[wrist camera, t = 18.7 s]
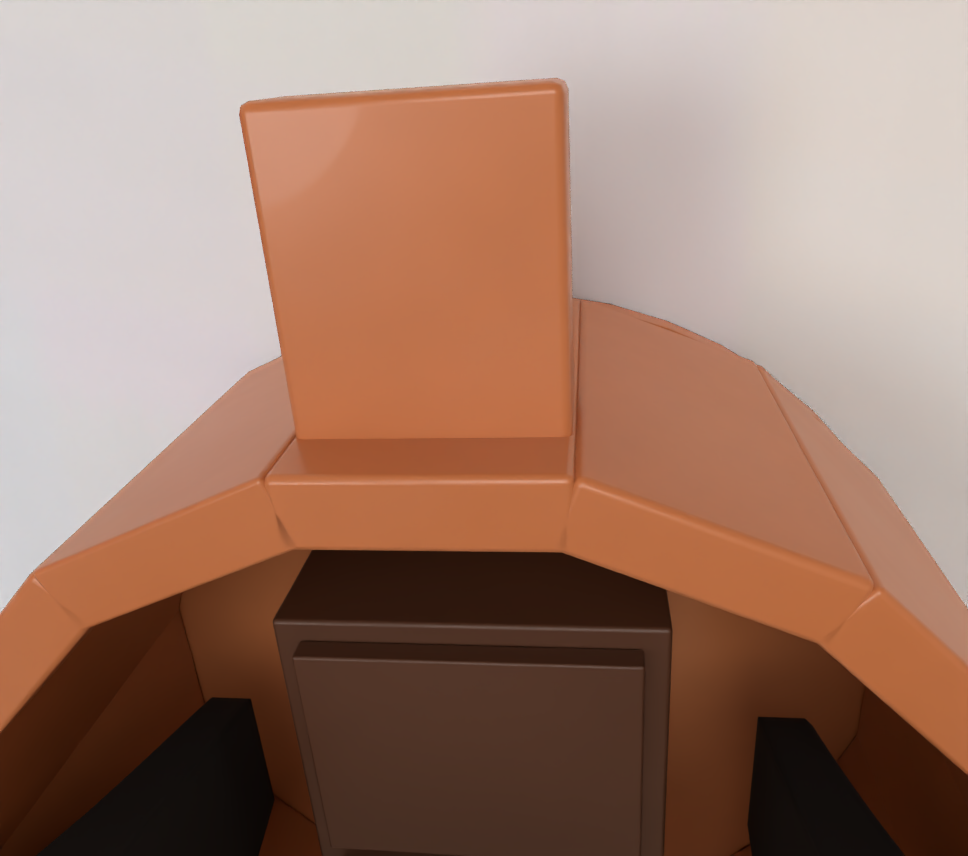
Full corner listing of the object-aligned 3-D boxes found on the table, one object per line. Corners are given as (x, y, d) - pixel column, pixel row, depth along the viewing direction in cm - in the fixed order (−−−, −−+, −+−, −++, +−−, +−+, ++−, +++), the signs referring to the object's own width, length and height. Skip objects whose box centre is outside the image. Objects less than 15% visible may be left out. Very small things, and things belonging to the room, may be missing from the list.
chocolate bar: (400, 811, 15) (347, 1028, 12) (350, 476, 12) (260, 637, 9) (642, 824, 14) (659, 1057, 11) (650, 476, 11) (676, 649, 8)
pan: (257, 960, 18) (134, 1294, 13) (16, 108, 11) (-457, 152, 6) (838, 1007, 16) (943, 1409, 12) (1021, 38, 9) (1521, 19, 4)
